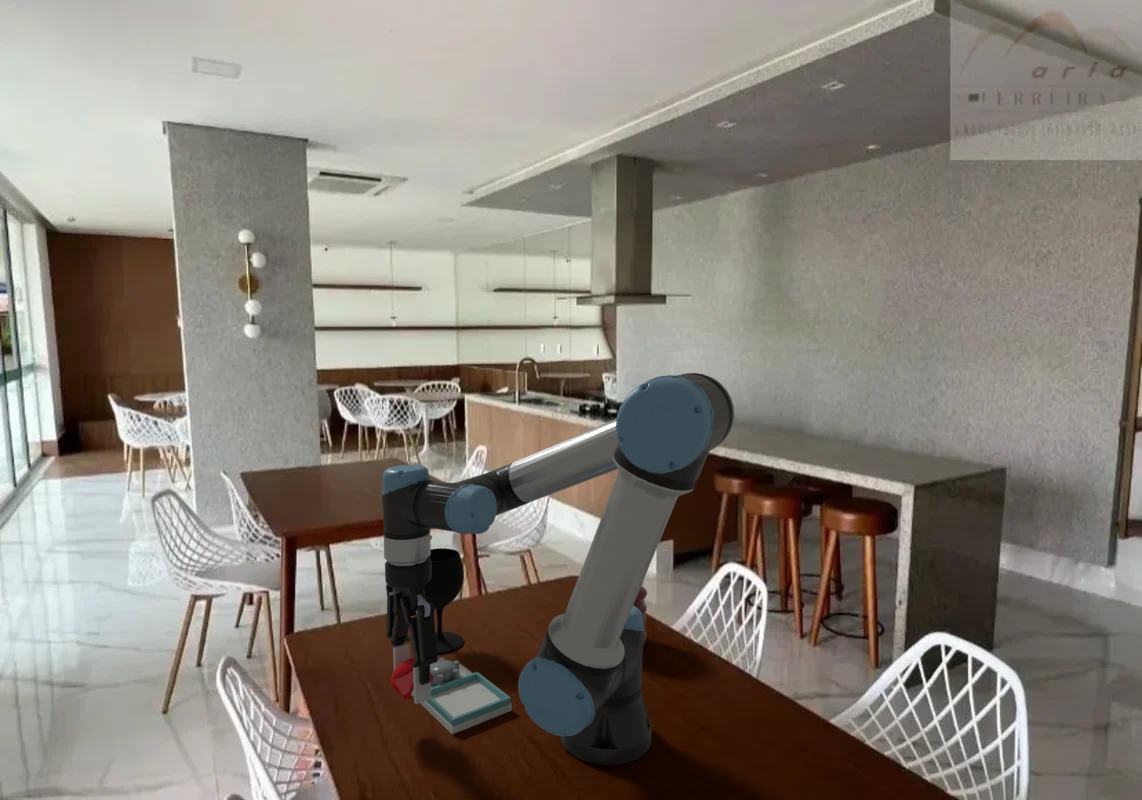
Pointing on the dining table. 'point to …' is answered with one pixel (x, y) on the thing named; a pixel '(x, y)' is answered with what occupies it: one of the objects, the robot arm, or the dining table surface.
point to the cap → (404, 679)
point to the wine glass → (444, 593)
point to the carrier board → (463, 697)
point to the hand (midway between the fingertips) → (412, 690)
